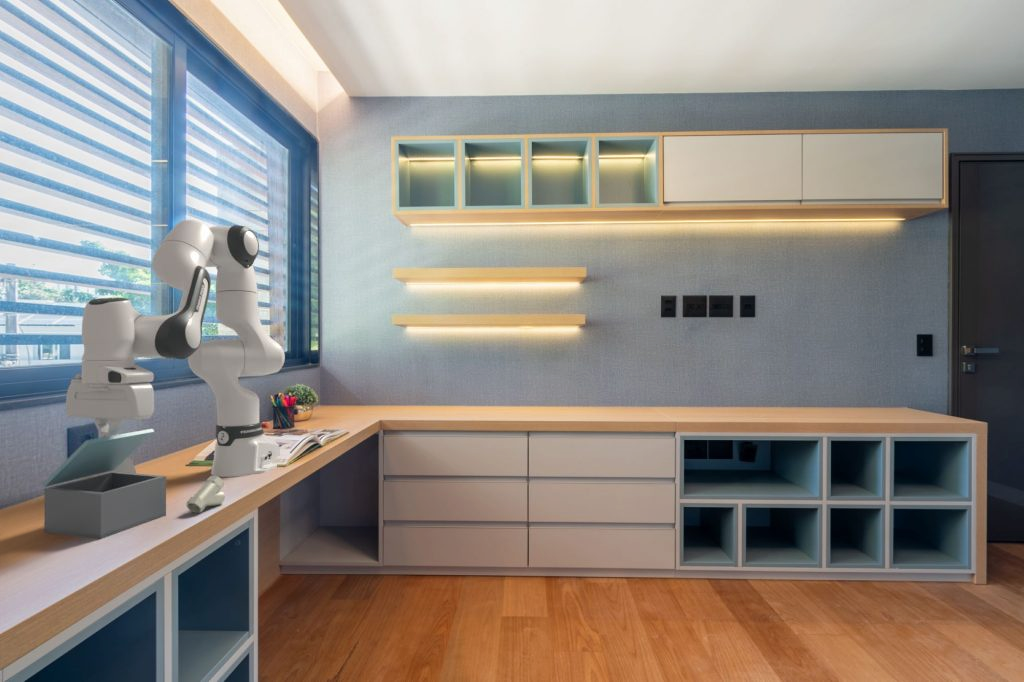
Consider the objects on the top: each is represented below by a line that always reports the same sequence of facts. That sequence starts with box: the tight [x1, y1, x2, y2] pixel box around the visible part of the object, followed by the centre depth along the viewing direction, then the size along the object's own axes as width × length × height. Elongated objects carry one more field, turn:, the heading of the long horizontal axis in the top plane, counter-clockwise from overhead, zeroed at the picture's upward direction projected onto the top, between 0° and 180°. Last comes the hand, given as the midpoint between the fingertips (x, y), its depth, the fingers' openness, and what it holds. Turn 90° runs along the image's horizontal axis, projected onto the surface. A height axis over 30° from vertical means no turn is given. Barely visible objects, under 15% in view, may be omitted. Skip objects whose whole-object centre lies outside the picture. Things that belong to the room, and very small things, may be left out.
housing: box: [43, 472, 167, 540], centre depth 110 cm, size 14×15×9 cm
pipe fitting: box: [186, 475, 226, 514], centre depth 119 cm, size 8×4×7 cm
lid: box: [42, 428, 155, 488], centre depth 110 cm, size 14×15×1 cm
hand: (108, 439), depth 109 cm, fingers closed
